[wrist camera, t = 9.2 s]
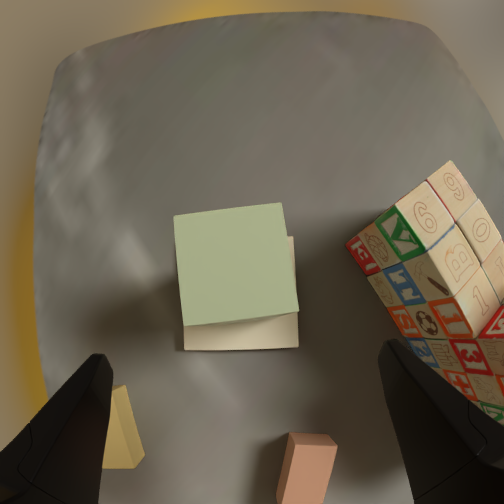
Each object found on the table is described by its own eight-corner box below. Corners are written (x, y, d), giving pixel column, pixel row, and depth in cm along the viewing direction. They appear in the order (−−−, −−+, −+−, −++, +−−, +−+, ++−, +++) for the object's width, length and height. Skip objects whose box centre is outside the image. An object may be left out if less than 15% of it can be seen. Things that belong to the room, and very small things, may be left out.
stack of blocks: (340, 245, 24) (420, 177, 12) (393, 206, 25) (477, 132, 13) (456, 434, 21) (549, 467, 9) (496, 388, 22) (589, 398, 10)
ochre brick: (145, 454, 20) (134, 468, 17) (112, 455, 20) (98, 468, 17) (126, 384, 21) (111, 391, 18) (93, 387, 21) (76, 393, 18)
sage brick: (274, 318, 22) (299, 310, 12) (210, 326, 22) (183, 326, 12) (265, 255, 23) (281, 202, 13) (202, 263, 23) (173, 215, 13)
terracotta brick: (311, 495, 20) (319, 512, 17) (275, 493, 20) (279, 512, 17) (326, 433, 21) (337, 445, 18) (288, 431, 21) (295, 444, 18)
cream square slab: (295, 345, 23) (298, 346, 22) (187, 348, 23) (184, 349, 21) (290, 241, 25) (293, 236, 23) (186, 243, 24) (183, 238, 23)
